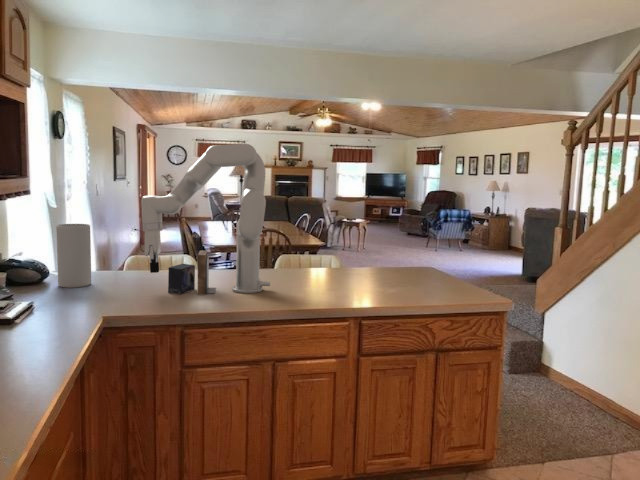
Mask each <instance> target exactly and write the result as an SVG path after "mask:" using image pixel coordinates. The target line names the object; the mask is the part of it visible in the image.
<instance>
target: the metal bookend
mask: <svg viewBox="0 0 640 480" xmlns="http://www.w3.org/2000/svg"><path fill="white" fill-rule="evenodd" d="M209 259H210V255H208V254H207V258H206V272H205V295H215V293H216V289H217V288H216V287H209V283H210V282H209V280H210V279H209V276H210V275H209V274H210V272H209V270H210V267H209V265H210V264H209V263H210V262H209V261H210V260H209Z"/></svg>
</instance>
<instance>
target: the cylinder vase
mask: <svg viewBox="0 0 640 480" xmlns="http://www.w3.org/2000/svg"><path fill="white" fill-rule="evenodd" d="M55 225H56V224H55ZM55 227H56V228H55V229H56V231H55V232H56V258H57V259H56V260H57V285H58V286H59V287H61V288H65V289H68V288H69V289H75V288H76V289H77V288H83V287H87V286H90V285H91V284H92V254H91V253H92V252H91V251H92V248H91V247H92V245H91V244H92V243H91V224H87V223H62V224H57V225H56V226H55Z"/></svg>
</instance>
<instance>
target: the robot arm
mask: <svg viewBox="0 0 640 480" xmlns="http://www.w3.org/2000/svg"><path fill="white" fill-rule="evenodd" d="M230 167H242V168H243V170H244V171H243V172H244V175H243V176H244V177H243V187H242V192H241V198H240V203H241V204H240V213H239V219H238V220H237V222H236V260H235V261H236V262H235V264H236V266H235V267H236V268H235V270H236V271H235V273H236V274H235V279H236V280H235V285H233V286H232V287H231V289H232V291H233V292H235V293H241V294H255V293H259V292H262V291H263V287H270V286H271V282H270V281H267V280H261V279H260V259H261V258H260V253H261V251H260V250H261V238H260V237H261V234H262V232H263V227H264V221H265V213H266V207H267V205H266V204H267V200H266V197H265V195H264V192H265V185H266V184H265V183H266V166H265V163H264V160H263V159H262V156H260V154H259V153H258V152H257V150H256V148H255V146H254V145H253V146H252V144H249V143H235V144H214V145H210V146H209V147H208V148H207V149H206V151H205V152H204V153H203V154H202V155H201V156H200V157H199V158H198V159H197V160H196V162H195V163H194V164H193V165H192V166H190V168H189V169H188V170H187V171H186V172H185V174H184V176H183V177H182V179H181V180H180V181H179V182H178V184H177V185H175V187H174V188H173V189H172V190H171V191H170V192H169V193H168V194H167V195H165V196H164V195H163V196H159V195H144V196H142V198H141V201H140V202H141V218H142V219H141V222H142V231H143V232H144V256H145V257H148V256H149V269H150V270H149V272H150V273H151V274H153V273H154V274H155V273H159V272H160V262H159V255H160V254H161V253H162V251H161V249H162V248H161V247H162V245H161V244H162V243H161V231H163V229H164V227H163V214H164V215H175V214H177V213H178V212H179V211H180V210H182V208H183V207H184V206H185V205H186V204H187V202H188V201H189V200H191V198H192V197H193V196H194V195H195V194H196V193H197V192H198V191H200V190H202V188H204V187H205V185H206V184H207V183H209V181H210V180H211V179H212V178H213V177H214V175H216V173H217V172H218V171H219V170H220V169H222V168H230Z"/></svg>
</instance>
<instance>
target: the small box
mask: <svg viewBox="0 0 640 480" xmlns="http://www.w3.org/2000/svg"><path fill="white" fill-rule="evenodd" d="M195 273H196V265H194V264H188V263H180V264H177V265H176V264H175V265H172V266H169V267H168V277H167V278H168V283H167V285H168V286H167V289H168V290H167V293H169V294H176V295H182V294H185V293H189V292H191V291H193V290H195V289H196V287H195V285H196V283H195V280H196V277H195V276H196V274H195Z"/></svg>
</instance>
